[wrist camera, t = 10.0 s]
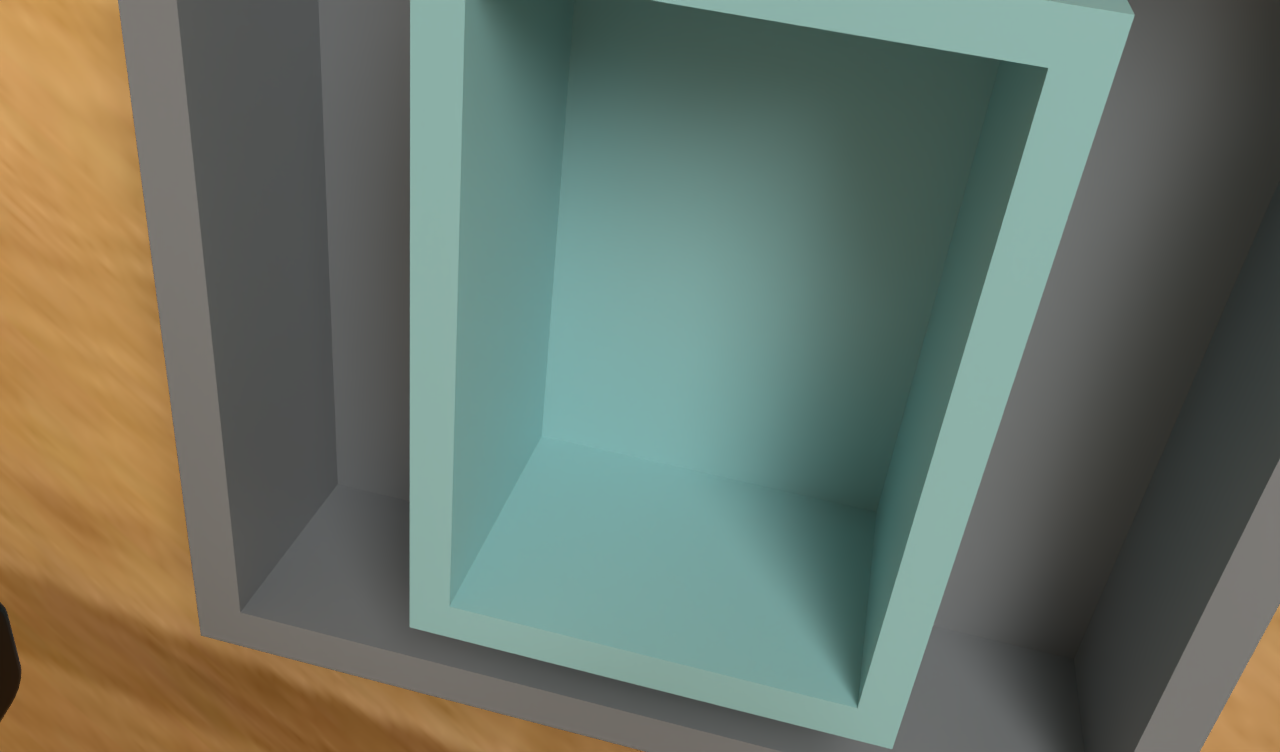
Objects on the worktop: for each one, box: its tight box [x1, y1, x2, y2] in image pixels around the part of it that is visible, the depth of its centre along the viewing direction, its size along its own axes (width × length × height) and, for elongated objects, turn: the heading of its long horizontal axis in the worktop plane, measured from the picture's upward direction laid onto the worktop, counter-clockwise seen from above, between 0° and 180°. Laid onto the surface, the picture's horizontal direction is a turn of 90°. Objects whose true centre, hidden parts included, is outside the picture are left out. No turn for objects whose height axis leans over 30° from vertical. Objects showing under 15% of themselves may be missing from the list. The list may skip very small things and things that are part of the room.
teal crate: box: [410, 0, 1135, 749], centre depth 16 cm, size 7×10×5 cm
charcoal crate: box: [118, 0, 1280, 752], centre depth 17 cm, size 16×16×4 cm
